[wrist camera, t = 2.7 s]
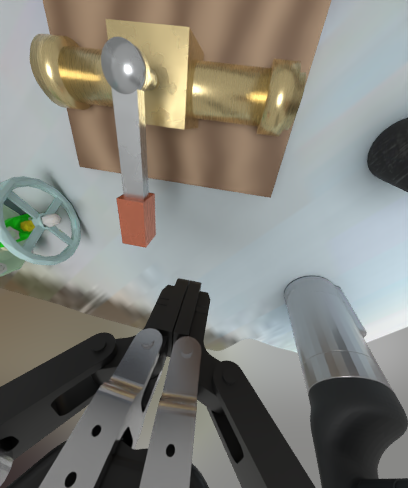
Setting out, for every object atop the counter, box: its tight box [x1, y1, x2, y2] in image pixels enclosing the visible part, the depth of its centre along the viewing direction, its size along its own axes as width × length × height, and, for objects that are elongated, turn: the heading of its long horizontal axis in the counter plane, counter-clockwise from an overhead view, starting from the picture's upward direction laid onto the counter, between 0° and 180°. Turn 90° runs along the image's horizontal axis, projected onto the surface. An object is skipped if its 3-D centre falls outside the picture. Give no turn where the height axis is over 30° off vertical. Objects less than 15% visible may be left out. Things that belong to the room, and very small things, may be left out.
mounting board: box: [43, 0, 331, 198], centre depth 24 cm, size 30×22×2 cm
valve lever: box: [101, 37, 156, 247], centre depth 18 cm, size 3×16×3 cm, turn 173°
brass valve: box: [30, 19, 306, 137], centre depth 20 cm, size 28×7×11 cm, turn 83°
